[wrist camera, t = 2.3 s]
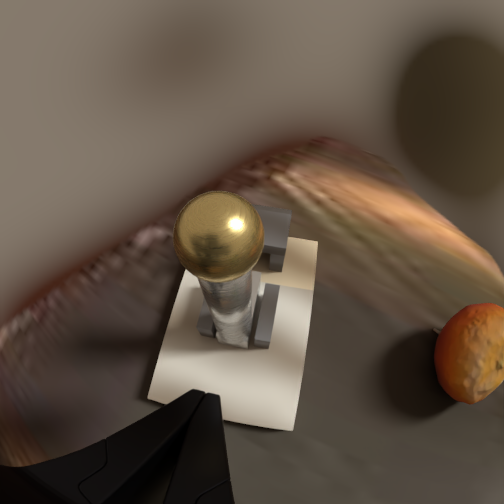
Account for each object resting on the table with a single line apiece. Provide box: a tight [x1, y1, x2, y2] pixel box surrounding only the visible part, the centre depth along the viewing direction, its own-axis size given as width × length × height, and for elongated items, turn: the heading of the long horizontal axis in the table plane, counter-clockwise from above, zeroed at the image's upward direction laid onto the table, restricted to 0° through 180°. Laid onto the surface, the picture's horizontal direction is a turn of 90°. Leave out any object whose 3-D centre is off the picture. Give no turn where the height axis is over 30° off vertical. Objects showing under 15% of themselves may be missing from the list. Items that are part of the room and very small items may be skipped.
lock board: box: [148, 204, 318, 431], centre depth 20 cm, size 15×10×5 cm, turn 169°
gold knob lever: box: [173, 191, 264, 349], centre depth 15 cm, size 6×3×13 cm, turn 169°
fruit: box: [433, 303, 504, 404], centre depth 17 cm, size 8×8×8 cm
